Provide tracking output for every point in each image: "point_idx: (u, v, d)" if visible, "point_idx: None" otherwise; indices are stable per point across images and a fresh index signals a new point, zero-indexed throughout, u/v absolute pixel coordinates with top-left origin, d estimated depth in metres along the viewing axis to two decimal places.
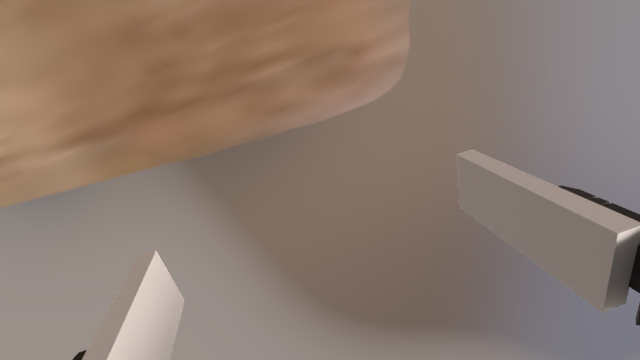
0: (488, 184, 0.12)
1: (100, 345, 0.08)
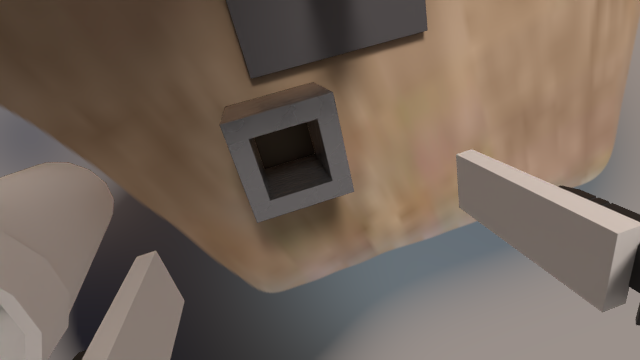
0: (488, 184, 0.12)
1: (100, 345, 0.08)
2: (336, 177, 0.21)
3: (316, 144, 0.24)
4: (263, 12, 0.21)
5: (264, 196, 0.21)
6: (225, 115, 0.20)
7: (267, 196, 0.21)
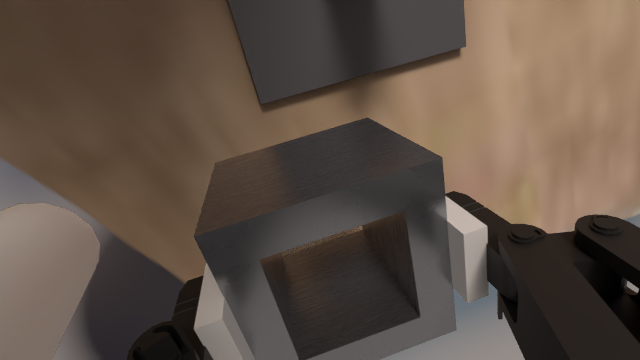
0: None
1: None
2: (428, 310, 0.11)
3: (376, 228, 0.13)
4: (276, 28, 0.18)
5: (288, 357, 0.10)
6: (211, 195, 0.10)
7: (295, 355, 0.10)
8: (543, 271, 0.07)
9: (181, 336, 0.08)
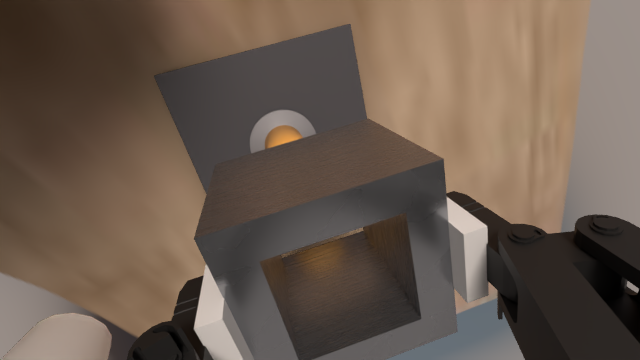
0: None
1: None
2: (429, 312, 0.11)
3: (376, 230, 0.13)
4: None
5: (288, 359, 0.10)
6: (212, 197, 0.10)
7: (295, 357, 0.10)
8: (543, 271, 0.07)
9: (181, 336, 0.08)
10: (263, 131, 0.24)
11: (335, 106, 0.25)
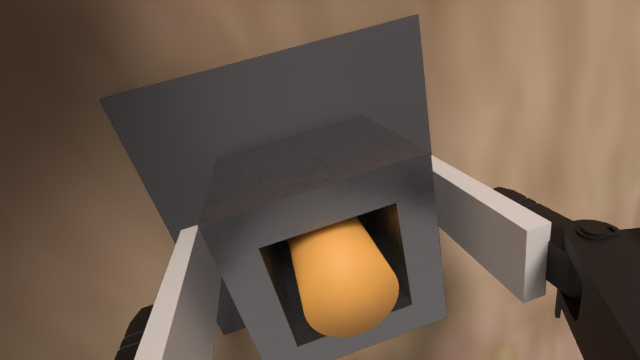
0: (436, 186, 0.13)
1: (166, 297, 0.09)
2: (419, 298, 0.12)
3: (370, 221, 0.14)
4: None
5: (286, 342, 0.11)
6: (213, 189, 0.11)
7: (293, 340, 0.11)
8: (614, 269, 0.07)
9: None
10: None
11: None
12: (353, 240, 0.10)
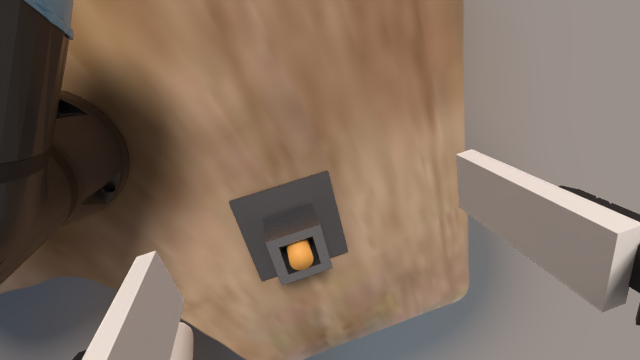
0: (488, 184, 0.12)
1: (100, 345, 0.08)
2: (322, 261, 0.41)
3: (312, 239, 0.43)
4: (267, 256, 0.47)
5: (285, 273, 0.40)
6: (265, 231, 0.40)
7: (287, 272, 0.40)
8: None
9: None
10: None
11: (321, 210, 0.46)
12: (302, 245, 0.39)
